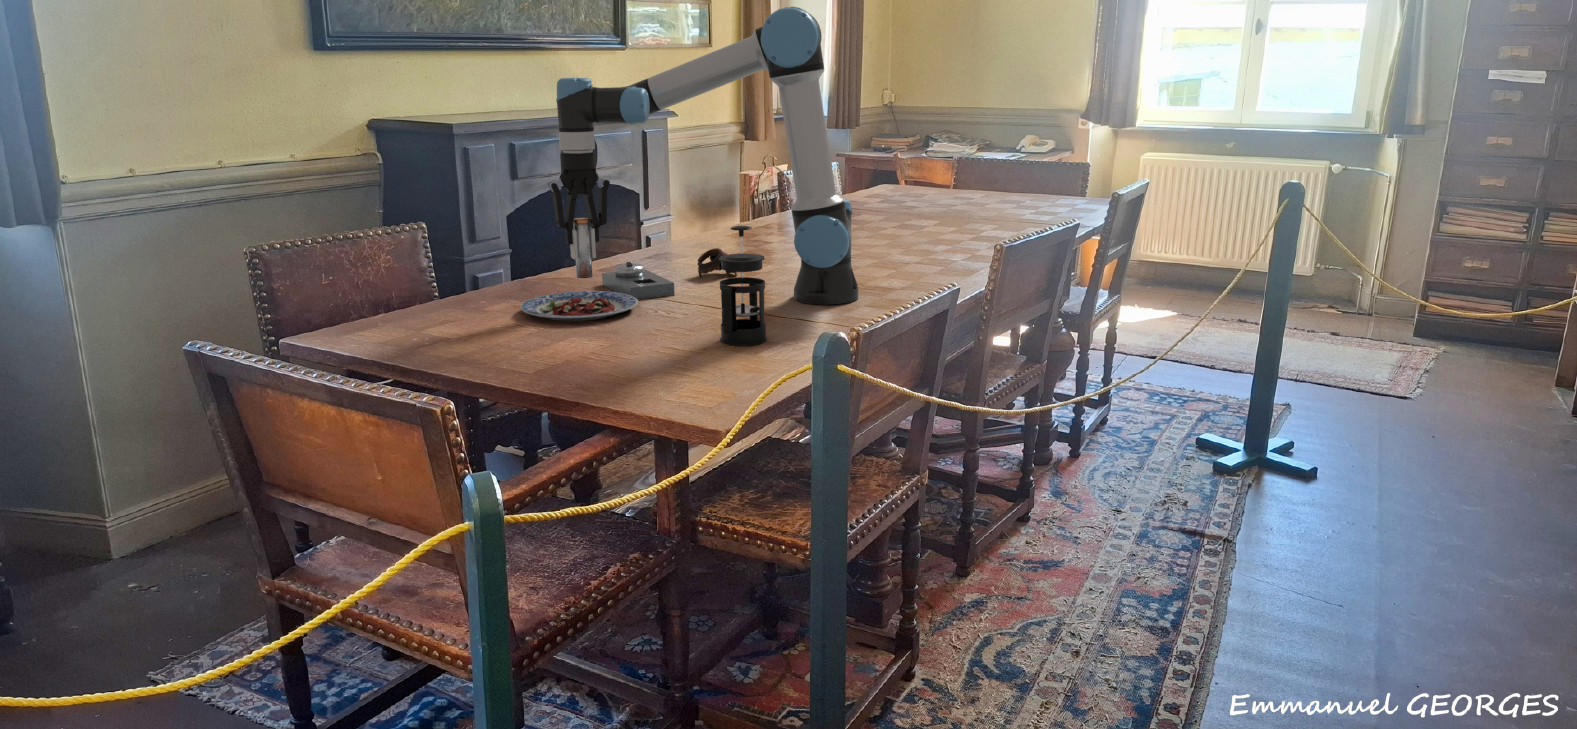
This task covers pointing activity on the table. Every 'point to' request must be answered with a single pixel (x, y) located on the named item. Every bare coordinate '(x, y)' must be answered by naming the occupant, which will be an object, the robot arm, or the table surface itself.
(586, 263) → the pin
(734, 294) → the french press
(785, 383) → the table surface
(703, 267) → the broken brown mug
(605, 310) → the ceramic plate
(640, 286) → the block
